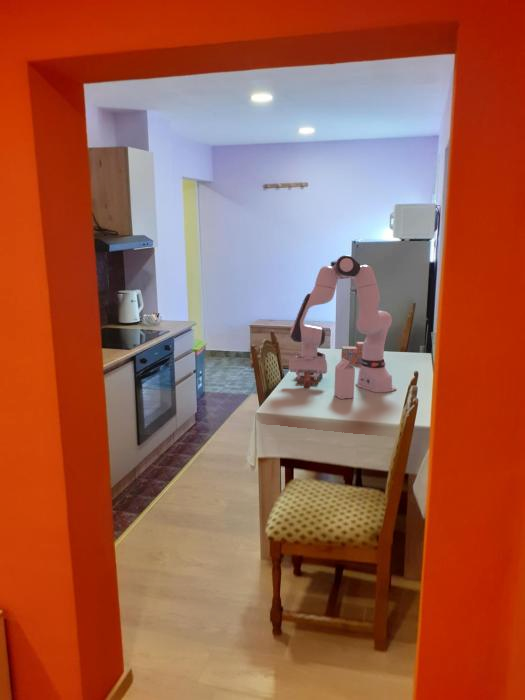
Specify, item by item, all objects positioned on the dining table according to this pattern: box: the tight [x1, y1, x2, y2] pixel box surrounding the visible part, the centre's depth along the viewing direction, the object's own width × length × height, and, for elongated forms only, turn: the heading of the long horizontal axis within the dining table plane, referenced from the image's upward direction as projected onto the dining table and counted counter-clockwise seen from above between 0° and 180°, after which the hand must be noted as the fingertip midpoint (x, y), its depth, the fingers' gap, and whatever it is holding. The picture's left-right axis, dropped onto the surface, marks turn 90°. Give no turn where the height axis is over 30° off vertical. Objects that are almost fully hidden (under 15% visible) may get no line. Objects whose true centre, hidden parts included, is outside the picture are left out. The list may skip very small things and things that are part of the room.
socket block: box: [297, 372, 321, 385], centre depth 311 cm, size 11×11×4 cm
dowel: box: [303, 372, 311, 389], centre depth 299 cm, size 3×3×8 cm
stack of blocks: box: [340, 341, 364, 364], centre depth 354 cm, size 21×6×12 cm, turn 90°
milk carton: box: [333, 358, 356, 400], centre depth 282 cm, size 7×7×19 cm
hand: (307, 379), depth 299 cm, fingers open, 7 cm apart
